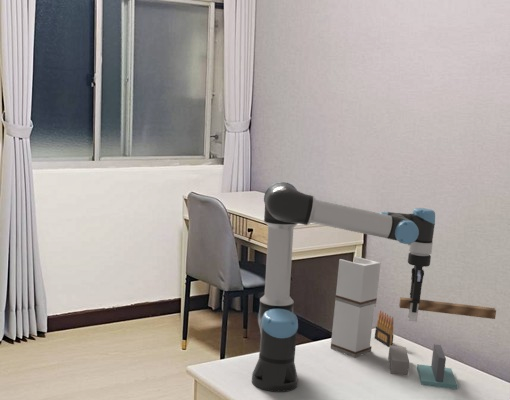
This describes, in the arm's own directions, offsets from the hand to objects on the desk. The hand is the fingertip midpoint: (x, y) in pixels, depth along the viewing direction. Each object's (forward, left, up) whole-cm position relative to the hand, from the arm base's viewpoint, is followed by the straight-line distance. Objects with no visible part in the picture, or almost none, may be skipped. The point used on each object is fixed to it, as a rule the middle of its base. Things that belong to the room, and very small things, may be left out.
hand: (412, 319), depth 244 cm
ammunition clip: (-6, +34, -21) cm, 41 cm away
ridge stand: (+11, +1, -21) cm, 23 cm away
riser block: (-2, +8, -21) cm, 22 cm away
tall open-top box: (-19, +20, -21) cm, 35 cm away
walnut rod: (+11, 0, +4) cm, 12 cm away
